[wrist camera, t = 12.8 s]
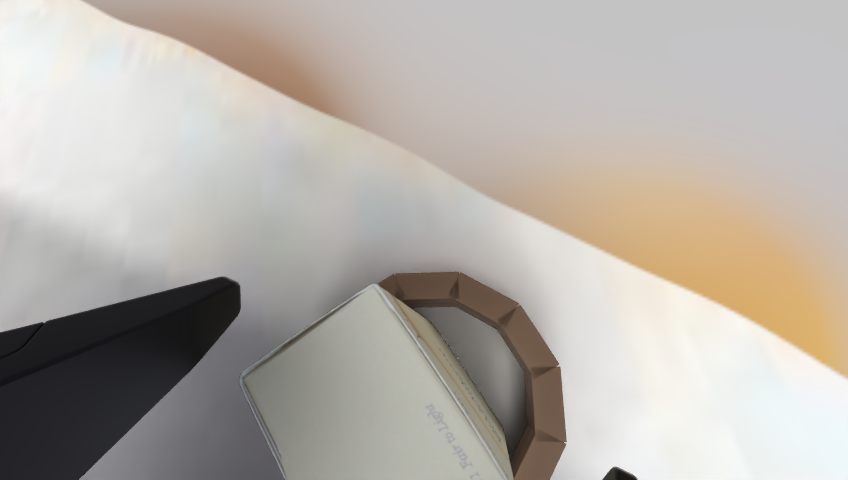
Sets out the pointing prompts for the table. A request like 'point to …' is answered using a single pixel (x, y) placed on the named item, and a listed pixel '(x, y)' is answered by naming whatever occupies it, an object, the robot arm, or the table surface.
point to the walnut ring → (526, 344)
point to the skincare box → (373, 400)
